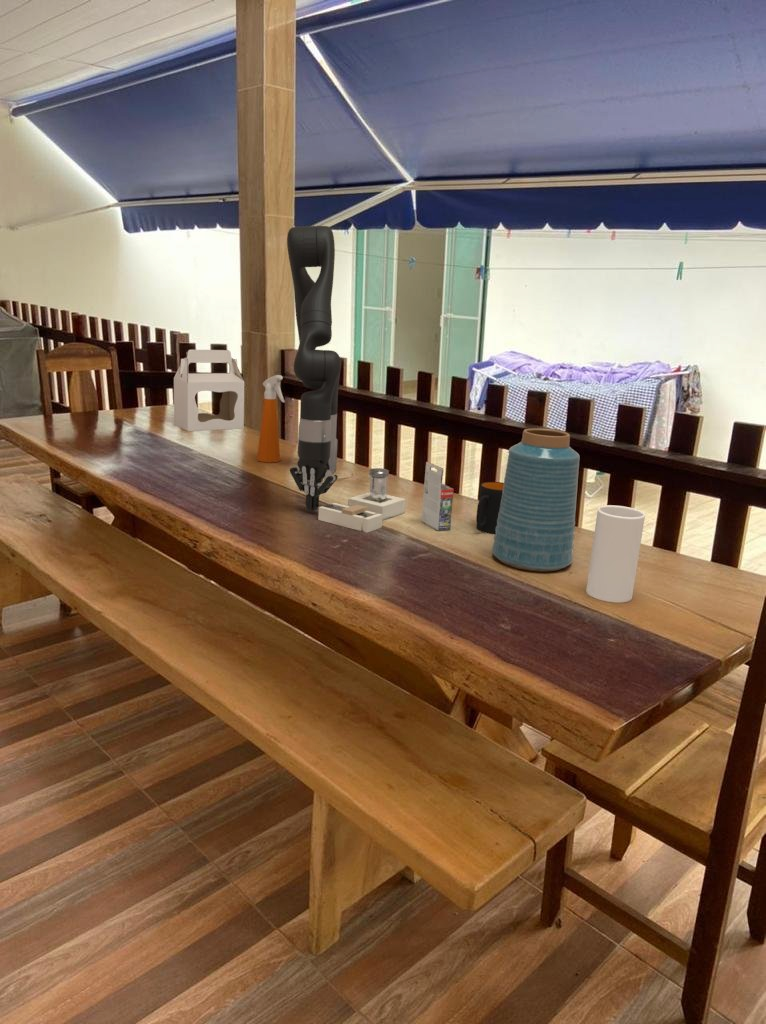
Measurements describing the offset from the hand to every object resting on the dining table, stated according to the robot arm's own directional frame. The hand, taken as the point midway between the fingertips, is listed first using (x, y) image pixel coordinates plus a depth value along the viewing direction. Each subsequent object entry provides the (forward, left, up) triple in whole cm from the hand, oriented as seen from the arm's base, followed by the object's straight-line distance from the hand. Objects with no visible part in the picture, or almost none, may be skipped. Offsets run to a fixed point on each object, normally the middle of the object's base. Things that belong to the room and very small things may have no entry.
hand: (311, 509), depth 184 cm
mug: (-18, +38, -1) cm, 42 cm away
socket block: (-11, +11, -1) cm, 16 cm away
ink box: (-12, +27, -1) cm, 30 cm away
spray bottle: (-35, -44, -1) cm, 57 cm away
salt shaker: (-11, +11, 0) cm, 16 cm away
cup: (+3, +73, -1) cm, 73 cm away
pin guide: (+1, +11, -1) cm, 11 cm away
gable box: (-62, -99, -1) cm, 117 cm away
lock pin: (+1, +10, -1) cm, 10 cm away
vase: (-5, +54, -1) cm, 54 cm away
